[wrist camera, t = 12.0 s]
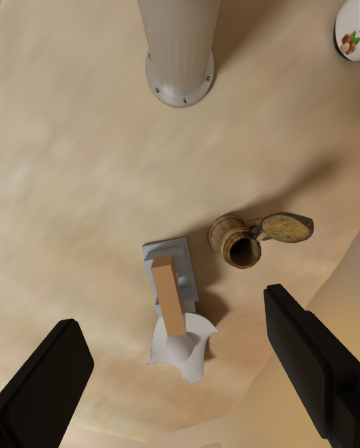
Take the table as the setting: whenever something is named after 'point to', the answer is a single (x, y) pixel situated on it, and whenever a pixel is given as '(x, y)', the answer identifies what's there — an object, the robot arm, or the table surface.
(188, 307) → the display stand
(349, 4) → the spread jar
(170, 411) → the table surface
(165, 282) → the tan wooden plank
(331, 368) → the robot arm
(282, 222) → the wooden mug
